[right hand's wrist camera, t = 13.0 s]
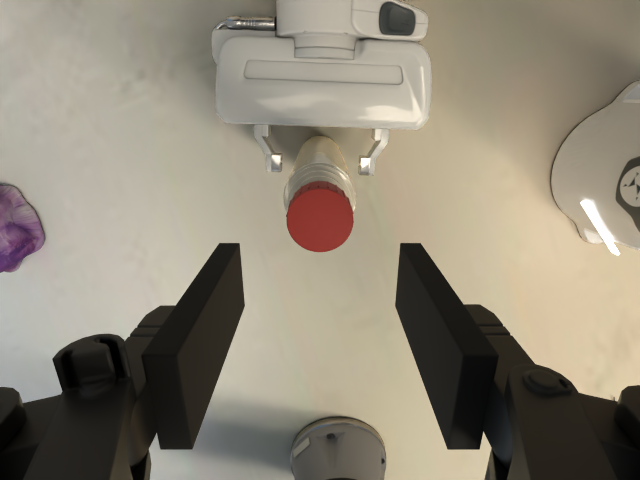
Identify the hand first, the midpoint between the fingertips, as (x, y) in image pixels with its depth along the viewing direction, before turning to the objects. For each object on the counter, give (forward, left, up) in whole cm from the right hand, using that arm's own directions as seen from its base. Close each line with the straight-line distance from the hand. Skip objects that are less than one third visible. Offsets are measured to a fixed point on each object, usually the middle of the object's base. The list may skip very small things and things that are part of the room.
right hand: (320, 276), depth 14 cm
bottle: (0, 0, -31) cm, 31 cm away
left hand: (0, +1, -25) cm, 25 cm away
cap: (0, 0, -7) cm, 7 cm away
